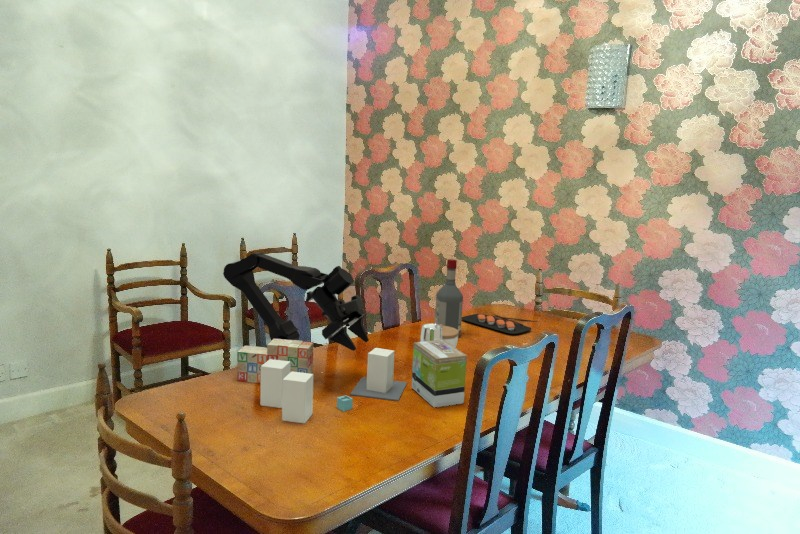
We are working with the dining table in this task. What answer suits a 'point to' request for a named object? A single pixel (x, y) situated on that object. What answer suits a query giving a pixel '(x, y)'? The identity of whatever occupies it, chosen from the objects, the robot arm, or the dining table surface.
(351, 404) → the letter cube
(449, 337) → the lidded bowl
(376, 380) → the white rectangular prism
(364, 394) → the charcoal mat
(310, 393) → the tall white pillar block
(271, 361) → the long cream brick
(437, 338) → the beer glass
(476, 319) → the sushi plate
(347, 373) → the dining table surface
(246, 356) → the stack of blocks
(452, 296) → the liquor
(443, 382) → the tea box
